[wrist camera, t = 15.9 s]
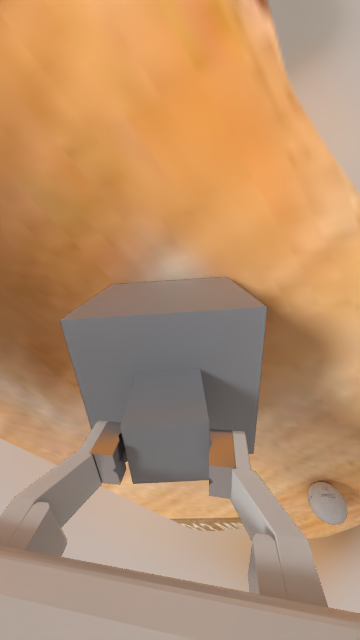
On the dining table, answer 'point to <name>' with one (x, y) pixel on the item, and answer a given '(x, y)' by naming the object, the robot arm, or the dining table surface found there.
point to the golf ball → (327, 503)
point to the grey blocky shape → (169, 369)
